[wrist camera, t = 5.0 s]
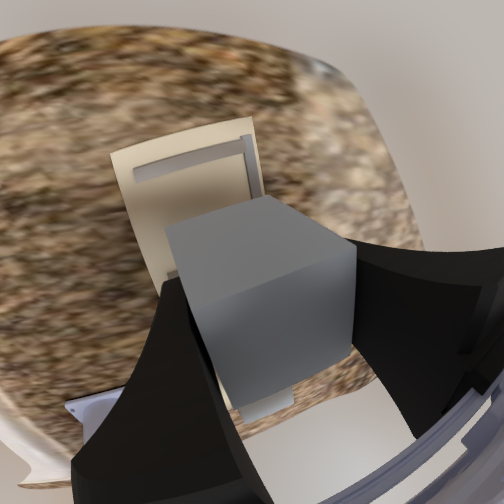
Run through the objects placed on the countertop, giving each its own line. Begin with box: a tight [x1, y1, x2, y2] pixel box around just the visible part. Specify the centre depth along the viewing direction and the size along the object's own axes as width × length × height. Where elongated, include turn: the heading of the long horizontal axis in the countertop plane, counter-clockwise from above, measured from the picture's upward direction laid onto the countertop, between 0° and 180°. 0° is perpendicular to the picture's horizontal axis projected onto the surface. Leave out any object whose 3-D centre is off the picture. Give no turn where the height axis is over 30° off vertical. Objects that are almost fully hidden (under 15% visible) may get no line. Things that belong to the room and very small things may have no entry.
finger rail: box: [110, 116, 294, 424], centre depth 18 cm, size 24×8×6 cm, turn 12°
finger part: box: [164, 195, 357, 410], centre depth 9 cm, size 4×4×5 cm
